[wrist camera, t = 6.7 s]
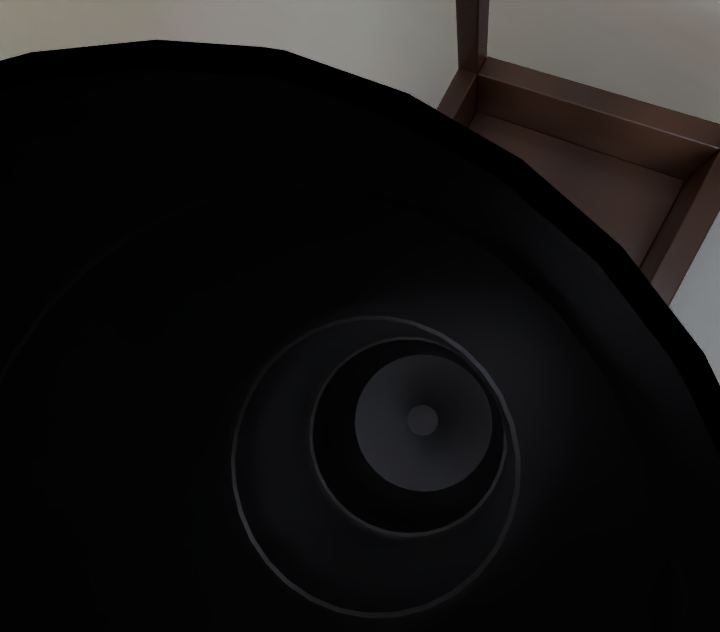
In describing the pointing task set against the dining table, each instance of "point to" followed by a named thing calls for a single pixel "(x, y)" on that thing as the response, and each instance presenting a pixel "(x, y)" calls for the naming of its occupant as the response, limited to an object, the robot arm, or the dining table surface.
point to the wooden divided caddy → (596, 151)
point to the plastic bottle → (325, 367)
